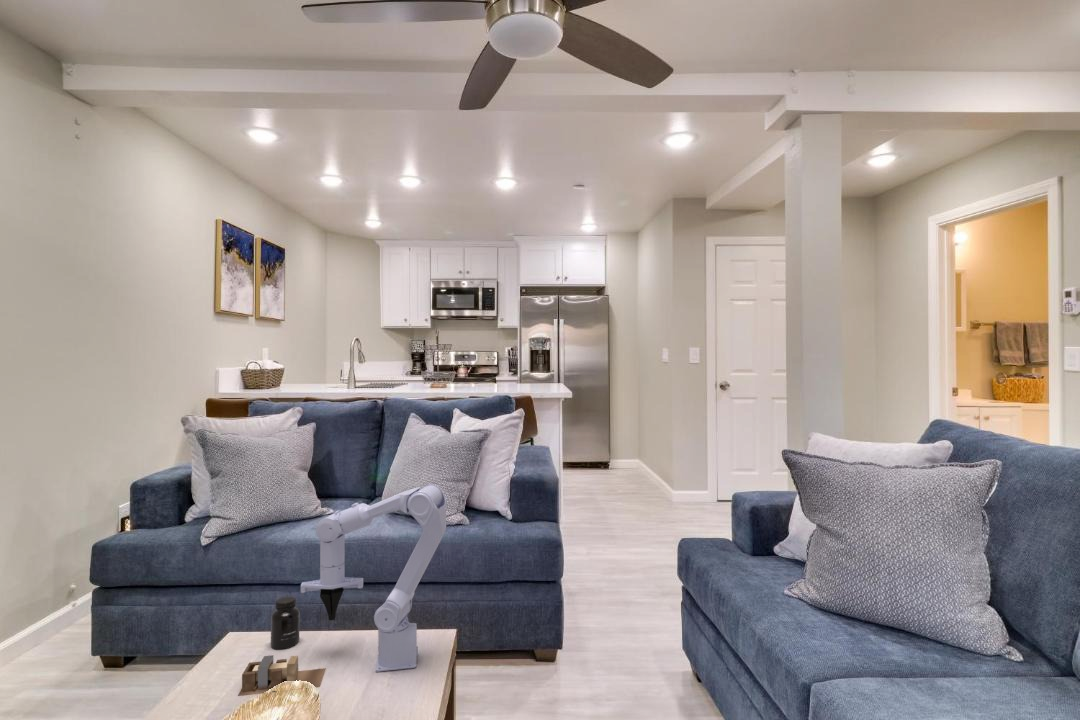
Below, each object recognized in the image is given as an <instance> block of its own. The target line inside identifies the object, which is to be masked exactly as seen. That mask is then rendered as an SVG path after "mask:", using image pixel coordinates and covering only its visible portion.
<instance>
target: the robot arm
mask: <svg viewBox="0 0 1080 720" xmlns="http://www.w3.org/2000/svg"><path fill="white" fill-rule="evenodd" d="M446 505H447V498H446V496H445V494H444V492H443V489H442V488H441V487H440V486H438V485H437V484H433V483H430V484H429V483H428V484H426V485H424V486H423V487H422V486H417V487H415V488H411V489H407V490H404V491H402V492H400V493H397V494H395V495H392V496H390V497H387V498H385V499H383V500H381V501H378V502H376V503H373V504H371V505H369V504H367V503H365V502H361V503H359V502H355V503H353V504H351V505H350V506H351V507H349V508H346V509H344V510H341V509H338V510H336V511H334V512H333V513H332V514H330V515H328V516H326V517H324V518H322V519H321V520H319V522H318V523H317V525H316V526H315V527H316V528H315V534H316V536H317V538H318V539H319V540H320V542H319V545H320V546H319V548H320V549H319V550H320V551H319V553H320V554H319V557H320V558H319V560H320V561H319V564H320V565H319V566H320V567H319V573H320V575H319V576H320V577H319V578H320V579H315V580H309V581H302V582H301V584H300V593H301V594H304V593H306V592H314V591H315V592H316V591H317V592H319V591H320V592H319V593H320V594H319V598H320V600H321V602H322V603H323V604H324V607H325V609H326V612H327V616H328V617H327V618H328V621H335V620H336V617H337V610H338V607H339V602H340V600H341V599H342V596H343V593H344V591H345V590H346V589H355V588H357V589H363V587H364V578H363V577H348V576H347V577H345V573H346V572H345V567H346V566H345V565H346V564H345V557H346V556H345V554H346V552H345V550H346V549H345V545H346V544H345V541H346V540H345V539H346V537H345V536H346V535H347V534H350V533H353V532H355V531H359V530H360V529H364V528H367V527H368V526H370V525H372V522H373V520H374V518H378V517H380V516H383V515H386V514H390V513H392V512H395V511H401V512H403V513H405V514H408V513H410V515H411V516H412V517H413V518H414V519H415V521H417V523H418V524H419V525H420V528H421V529H422V533H421V536H420V537H419V539H418V541H417V543H416V545H415V547H414V548H413V551H412V553H411V555H410V556H409V558H408V560H407V562H406V564H405V567H404V569H403V570H402V572H401V574H400V576H399V578H398V580H397V582H396V584H395V586H394V588H392V590H391V592H390V593H389V595H388V596H387V598H386V600H385V602H383V604H382V605H380V607H378V608H377V609H376V610H375V612H374V615H373V622H374V624H375V626H376V627H377V629H378V630H377V631H378V632H377V633H378V635H377V636H378V638H377V644H378V646H377V652H378V653H377V657H376V663H375V669H374V671H375V672H377V673H378V672H385V671H386V672H387V671H395V670H396V671H397V670H405V669H413V668H417V656H418V655H419V647H418V646H417V644H418V643H417V642H418V640H417V638H418V636H417V634H418V633H417V632H418V631H417V630H418V629H417V628H418V627H417V623H415V622H410V621H409V618H408V614H409V613H410V611H411V610H412V607H413V604H412V603H413V598H414V596H415V591H416V589H417V587H418V585H419V583H420V581H421V579H422V578H423V576H424V573H425V572H426V570H427V568H428V566H429V564H430V562H431V560H432V558H433V557H434V554H435V552H436V551H437V549H438V547H439V545H440V542H441V541H442V539H443V537H444V535H445V533H446V531H447V515H446Z"/></svg>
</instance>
